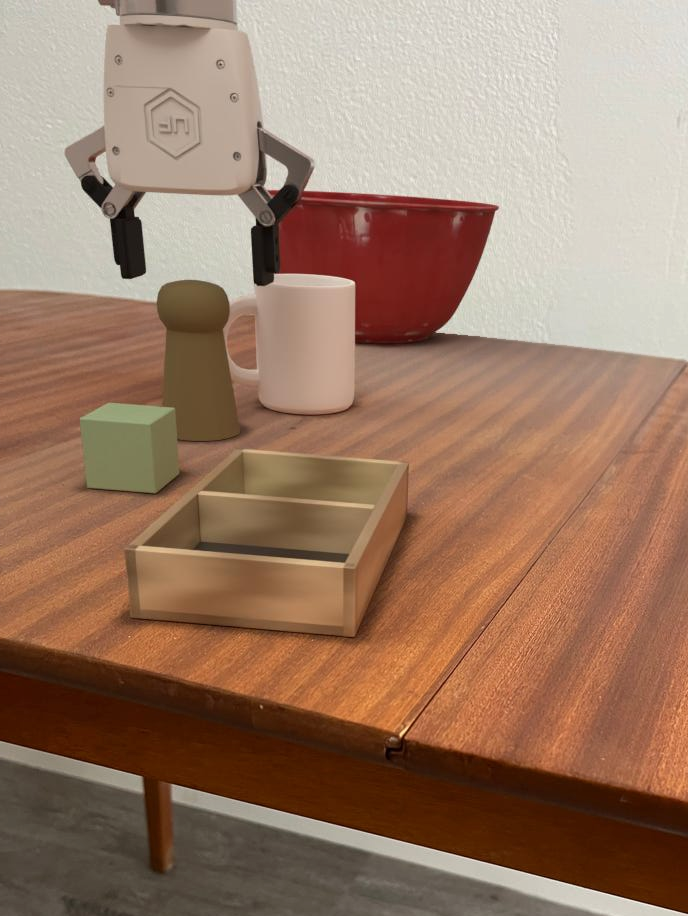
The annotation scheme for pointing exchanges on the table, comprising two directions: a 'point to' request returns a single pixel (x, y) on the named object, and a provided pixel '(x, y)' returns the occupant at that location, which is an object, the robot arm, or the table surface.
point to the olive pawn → (197, 360)
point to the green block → (130, 447)
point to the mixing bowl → (389, 256)
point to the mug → (300, 343)
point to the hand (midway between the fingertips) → (199, 280)
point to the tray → (272, 544)
